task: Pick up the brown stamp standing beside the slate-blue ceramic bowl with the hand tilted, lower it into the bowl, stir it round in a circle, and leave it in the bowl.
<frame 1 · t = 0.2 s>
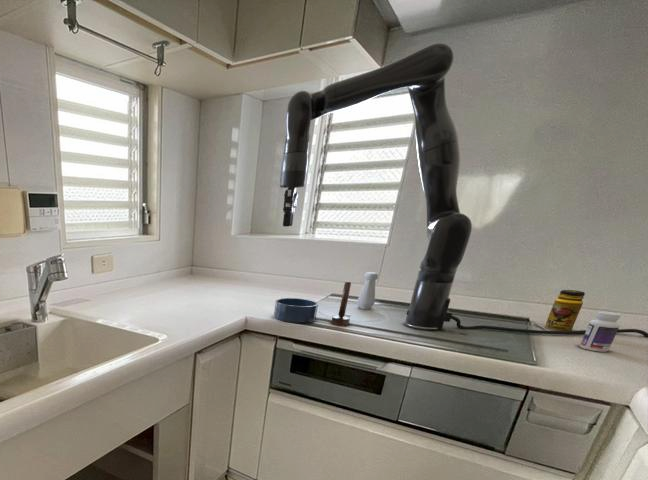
hand: (287, 226, 130), 29 cm above the countertop, tool pointing down, fingers open, 8 cm apart
salt shaker: (364, 308, 150), on the countertop
condiment: (556, 329, 125), on the countertop
pill bottle: (592, 349, 107), on the countertop
bowl: (294, 318, 134), on the countertop
brown stamp: (339, 323, 129), on the countertop
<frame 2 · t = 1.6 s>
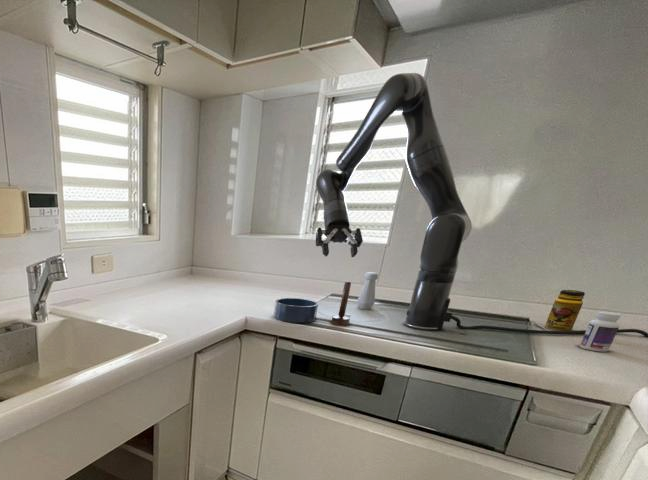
hand: (340, 255, 132), 20 cm above the countertop, tool tilted 45°, fingers open, 8 cm apart
nothing on the countertop moved.
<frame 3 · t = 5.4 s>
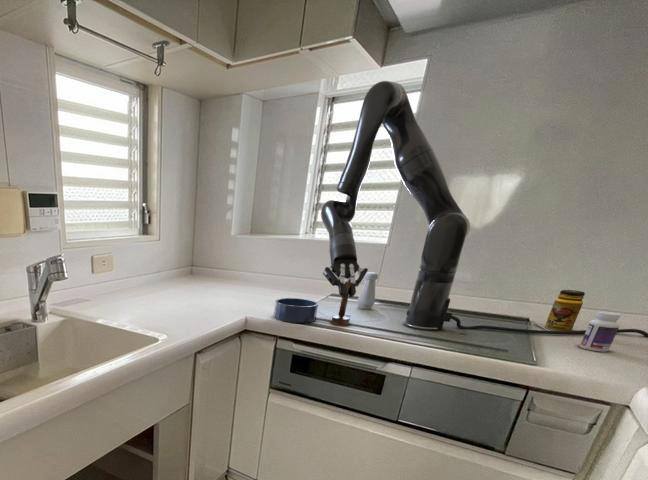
hand: (347, 295, 123), 9 cm above the countertop, tool tilted 45°, fingers closed on brown stamp
brown stamp: (339, 323, 129), on the countertop, touching gripper
everything else where it was.
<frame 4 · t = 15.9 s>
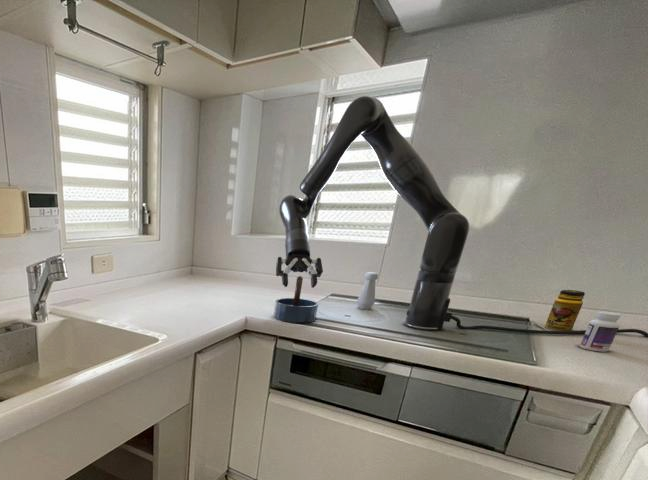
hand: (299, 285, 129), 11 cm above the countertop, tool tilted 45°, fingers open, 8 cm apart
brown stamp: (294, 316, 134), resting on bowl
everything else where it was.
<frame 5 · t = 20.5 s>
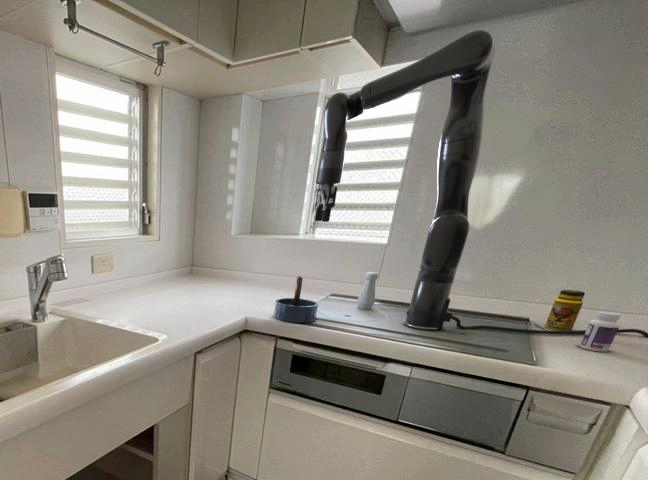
hand: (321, 221, 136), 30 cm above the countertop, tool pointing down, fingers open, 8 cm apart
nothing on the countertop moved.
at the end: brown stamp inside the target area in the bowl (0.1 cm from its centre), point 0.5 cm above the bowl's base; the gripper is holding nothing; brown stamp moved 14.2 cm from its start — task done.
